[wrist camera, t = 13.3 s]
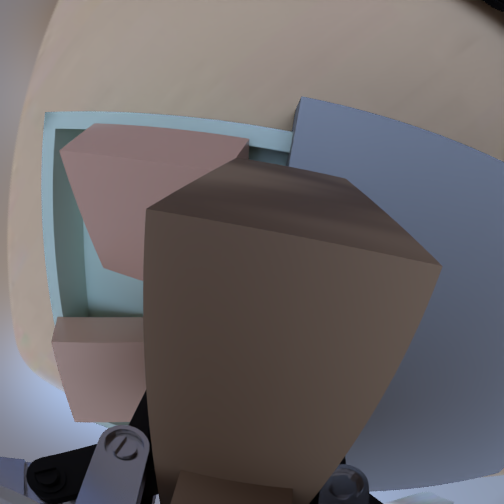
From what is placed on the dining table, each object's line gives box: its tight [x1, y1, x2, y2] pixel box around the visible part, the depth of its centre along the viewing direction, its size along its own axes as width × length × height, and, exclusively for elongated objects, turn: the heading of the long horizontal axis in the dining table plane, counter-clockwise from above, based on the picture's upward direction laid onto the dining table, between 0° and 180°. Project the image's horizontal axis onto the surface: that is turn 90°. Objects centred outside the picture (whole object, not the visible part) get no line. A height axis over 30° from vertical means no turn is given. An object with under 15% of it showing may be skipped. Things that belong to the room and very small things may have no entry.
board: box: [286, 96, 504, 491], centre depth 13 cm, size 20×18×5 cm
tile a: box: [59, 123, 249, 281], centre depth 11 cm, size 6×6×2 cm
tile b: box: [52, 317, 146, 422], centre depth 15 cm, size 6×6×2 cm
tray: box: [41, 112, 293, 428], centre depth 15 cm, size 10×18×3 cm, turn 171°
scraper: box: [143, 158, 443, 504], centre depth 7 cm, size 3×14×8 cm, turn 170°
